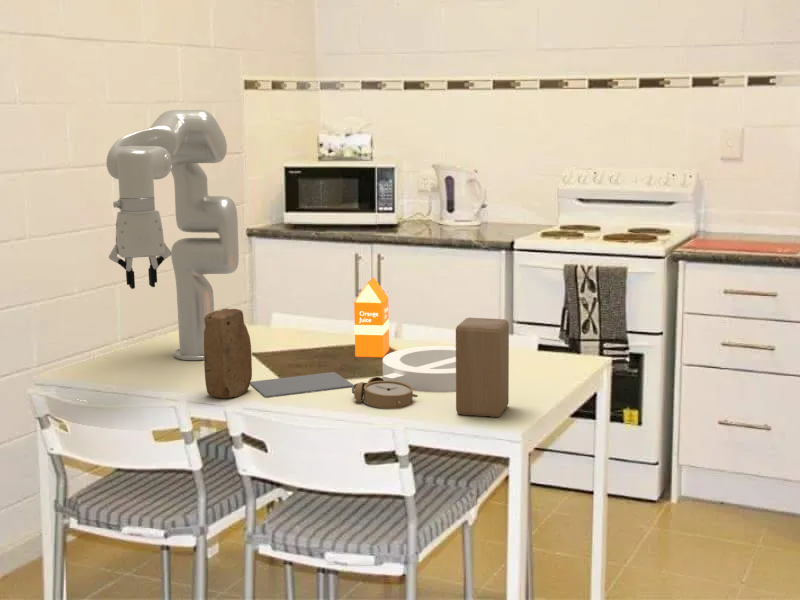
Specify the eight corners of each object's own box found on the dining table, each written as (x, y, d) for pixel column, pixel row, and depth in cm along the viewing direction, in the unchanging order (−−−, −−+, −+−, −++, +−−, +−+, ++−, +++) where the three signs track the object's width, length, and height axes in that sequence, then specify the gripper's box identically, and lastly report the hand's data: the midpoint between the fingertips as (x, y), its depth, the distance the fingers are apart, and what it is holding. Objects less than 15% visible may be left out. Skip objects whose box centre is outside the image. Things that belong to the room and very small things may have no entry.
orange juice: (389, 349, 313) (388, 276, 309) (383, 357, 304) (382, 282, 301) (361, 348, 314) (359, 276, 310) (354, 356, 306) (352, 282, 302)
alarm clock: (396, 399, 255) (341, 379, 262) (393, 420, 256) (339, 399, 263) (423, 388, 264) (370, 368, 271) (420, 407, 265) (367, 388, 273)
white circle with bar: (381, 393, 271) (381, 374, 270) (384, 364, 298) (383, 346, 298) (501, 392, 271) (501, 372, 270) (492, 363, 298) (492, 345, 297)
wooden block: (465, 403, 261) (465, 316, 257) (509, 406, 258) (509, 318, 254) (455, 415, 252) (454, 325, 248) (500, 418, 249) (500, 328, 245)
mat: (248, 383, 280) (248, 381, 280) (334, 373, 289) (334, 371, 289) (265, 397, 268) (265, 396, 268) (354, 386, 276) (354, 385, 276)
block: (226, 401, 265) (222, 316, 261) (202, 397, 269) (198, 312, 265) (257, 390, 274) (254, 307, 270) (233, 386, 278) (230, 304, 274)
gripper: (101, 209, 249) (107, 293, 252) (178, 205, 255) (182, 286, 259) (96, 205, 256) (101, 287, 259) (171, 201, 262) (175, 281, 266)
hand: (142, 286), depth 259 cm, fingers open, 3 cm apart
